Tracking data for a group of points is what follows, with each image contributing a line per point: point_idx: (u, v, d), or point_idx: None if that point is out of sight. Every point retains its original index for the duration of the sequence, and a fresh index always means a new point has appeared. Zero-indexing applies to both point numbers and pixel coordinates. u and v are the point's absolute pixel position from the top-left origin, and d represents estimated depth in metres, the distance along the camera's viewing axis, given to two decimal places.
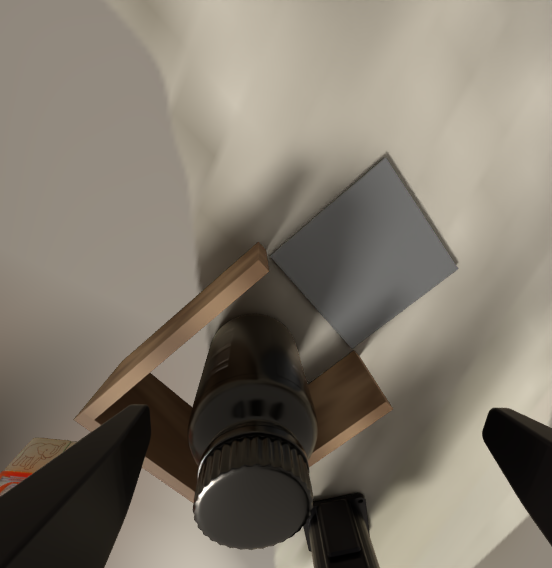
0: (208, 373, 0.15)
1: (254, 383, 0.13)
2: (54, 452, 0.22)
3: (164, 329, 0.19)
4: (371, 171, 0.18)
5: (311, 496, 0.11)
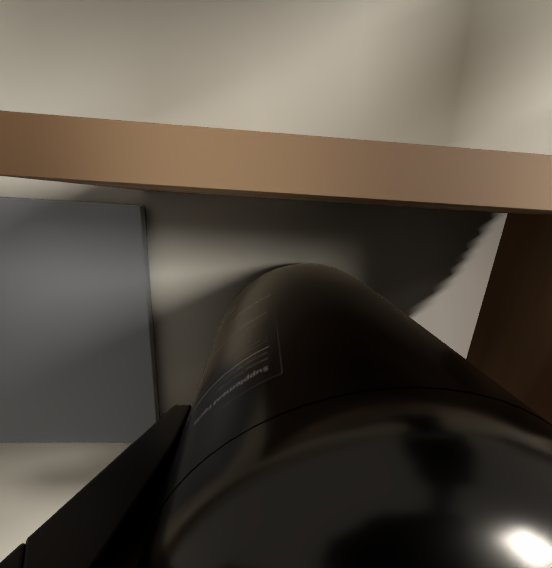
0: None
1: None
2: None
3: None
4: None
5: None
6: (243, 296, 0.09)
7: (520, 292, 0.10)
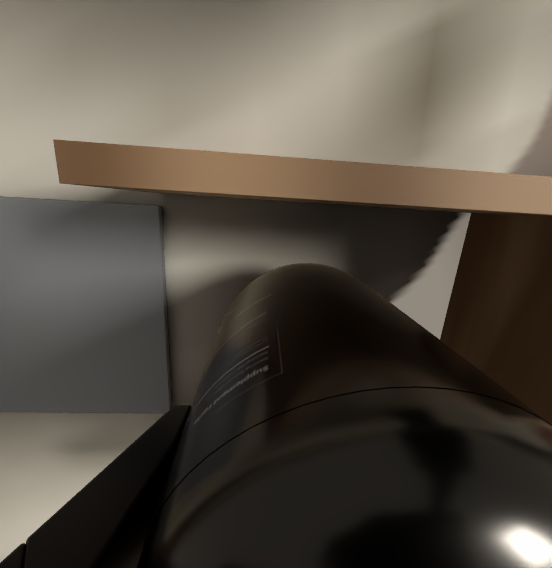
0: None
1: None
2: None
3: None
4: None
5: None
6: (243, 296, 0.09)
7: (480, 279, 0.12)
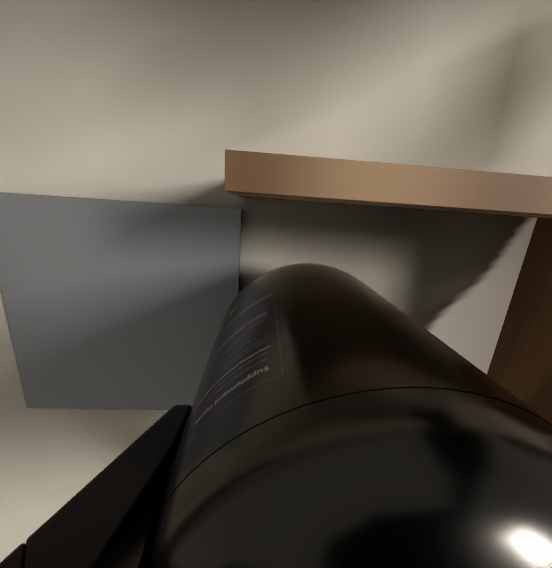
0: None
1: None
2: None
3: None
4: (53, 406, 0.14)
5: None
6: (243, 296, 0.09)
7: (549, 283, 0.12)
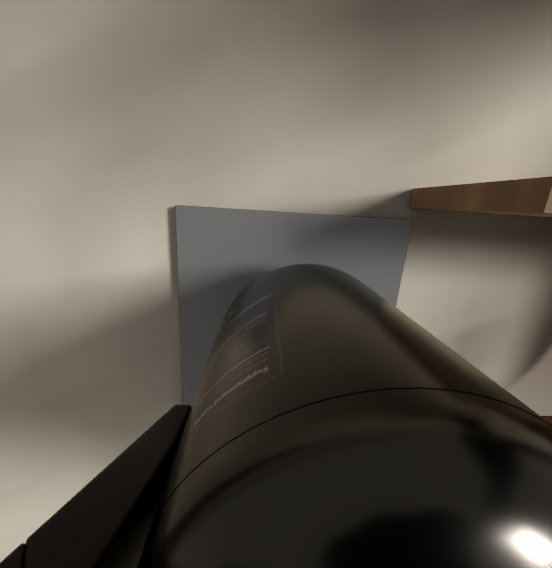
0: None
1: None
2: None
3: None
4: None
5: None
6: (243, 296, 0.09)
7: None
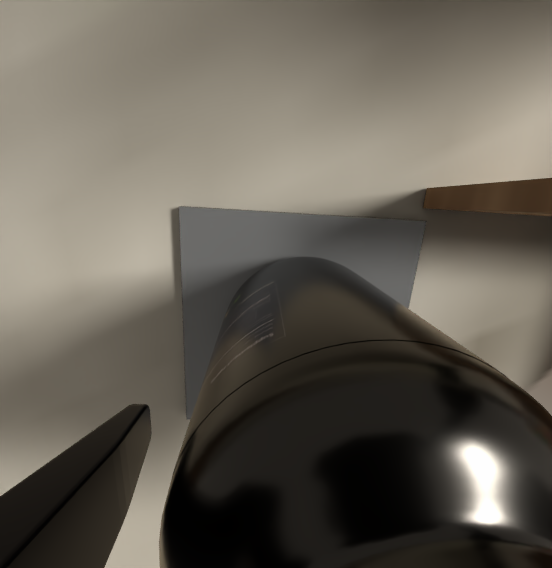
0: None
1: None
2: None
3: None
4: None
5: None
6: (247, 285, 0.10)
7: None
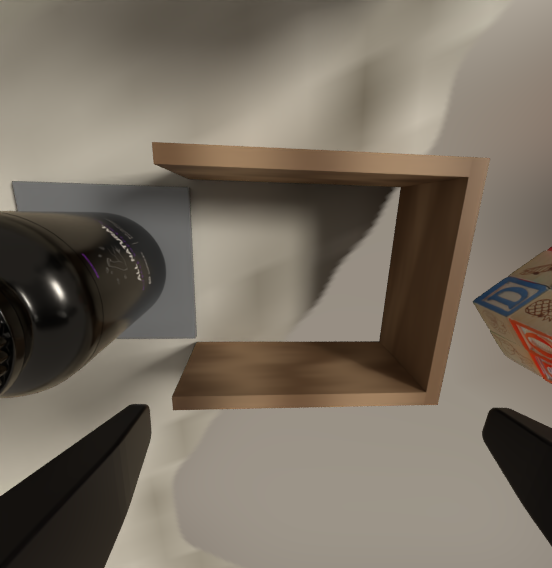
0: None
1: None
2: (506, 342, 0.20)
3: None
4: None
5: None
6: None
7: (406, 231, 0.17)
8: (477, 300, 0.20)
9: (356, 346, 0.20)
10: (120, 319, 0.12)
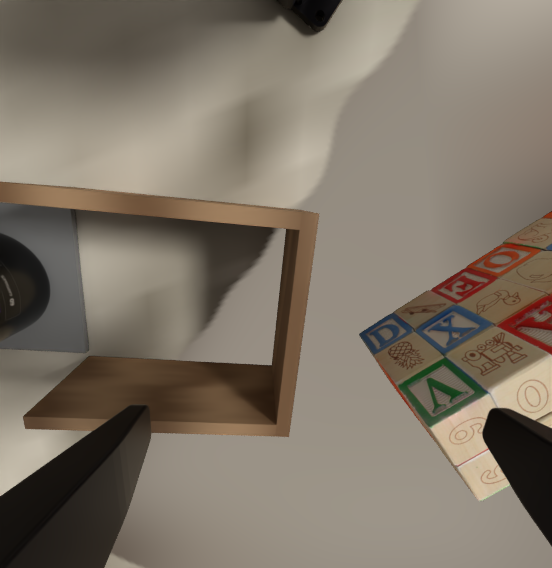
0: None
1: None
2: None
3: None
4: None
5: None
6: None
7: (284, 265, 0.18)
8: (362, 333, 0.21)
9: (244, 369, 0.21)
10: None
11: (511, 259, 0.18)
